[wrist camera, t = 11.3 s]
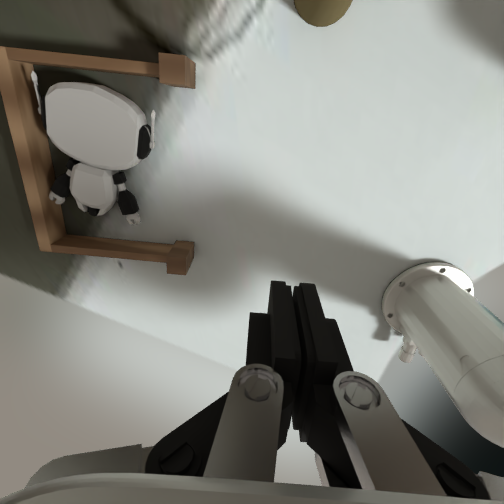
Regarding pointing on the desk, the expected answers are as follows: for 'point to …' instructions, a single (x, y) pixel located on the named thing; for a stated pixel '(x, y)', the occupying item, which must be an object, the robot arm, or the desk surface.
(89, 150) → the robot toy
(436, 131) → the desk surface
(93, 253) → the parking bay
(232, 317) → the desk surface
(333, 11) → the cork
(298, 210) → the desk surface
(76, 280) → the desk surface
